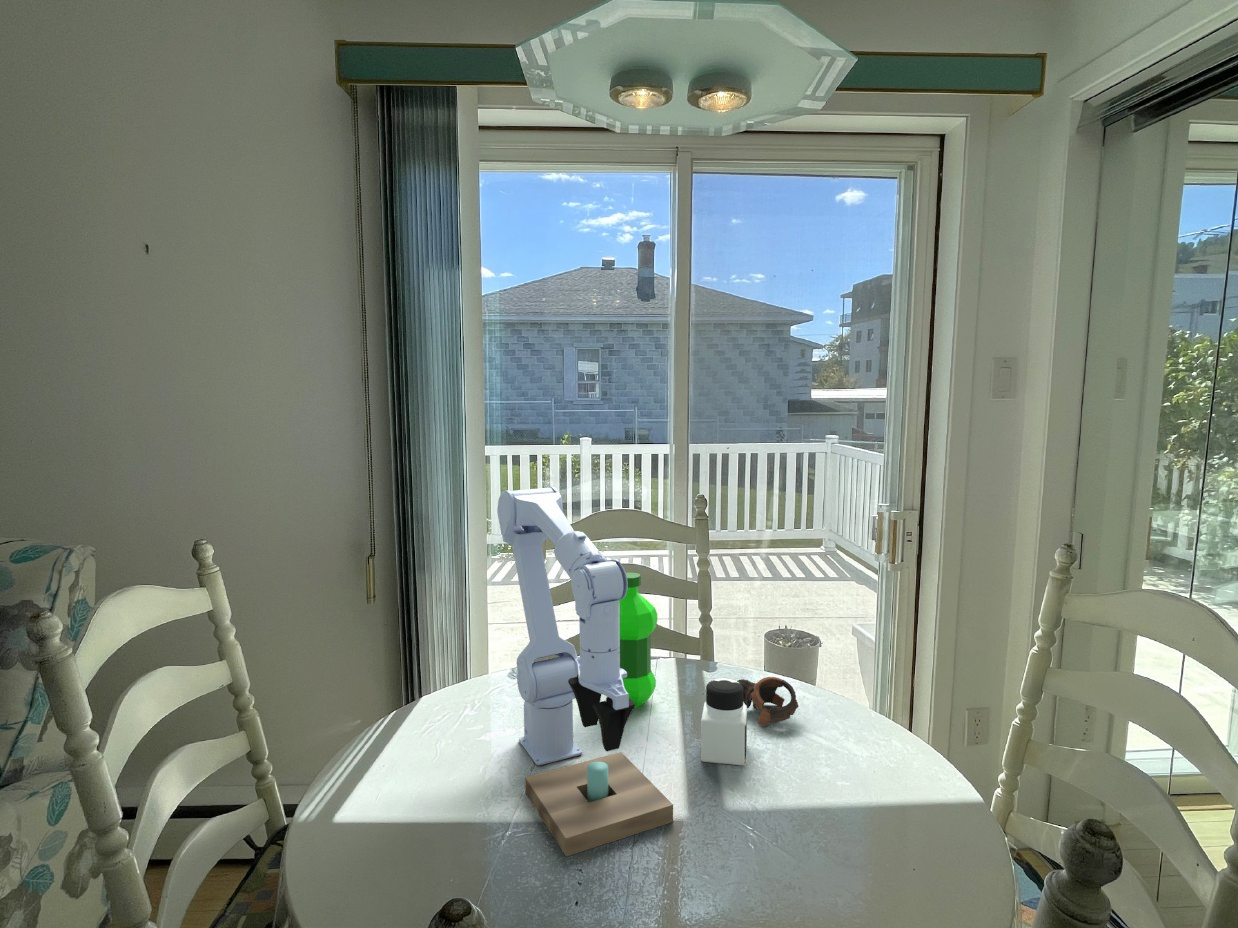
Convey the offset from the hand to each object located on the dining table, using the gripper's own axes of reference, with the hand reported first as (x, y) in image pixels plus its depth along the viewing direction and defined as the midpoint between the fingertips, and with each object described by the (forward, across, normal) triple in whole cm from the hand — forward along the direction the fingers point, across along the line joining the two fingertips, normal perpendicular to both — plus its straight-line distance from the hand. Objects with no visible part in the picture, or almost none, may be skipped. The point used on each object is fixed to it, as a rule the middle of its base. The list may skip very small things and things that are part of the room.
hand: (600, 736), depth 100 cm
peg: (+10, -1, +1) cm, 10 cm away
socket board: (+10, -1, +1) cm, 10 cm away
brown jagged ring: (+10, +11, -38) cm, 41 cm away
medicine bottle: (+10, +3, -24) cm, 26 cm away
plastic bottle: (+10, +27, -18) cm, 34 cm away
